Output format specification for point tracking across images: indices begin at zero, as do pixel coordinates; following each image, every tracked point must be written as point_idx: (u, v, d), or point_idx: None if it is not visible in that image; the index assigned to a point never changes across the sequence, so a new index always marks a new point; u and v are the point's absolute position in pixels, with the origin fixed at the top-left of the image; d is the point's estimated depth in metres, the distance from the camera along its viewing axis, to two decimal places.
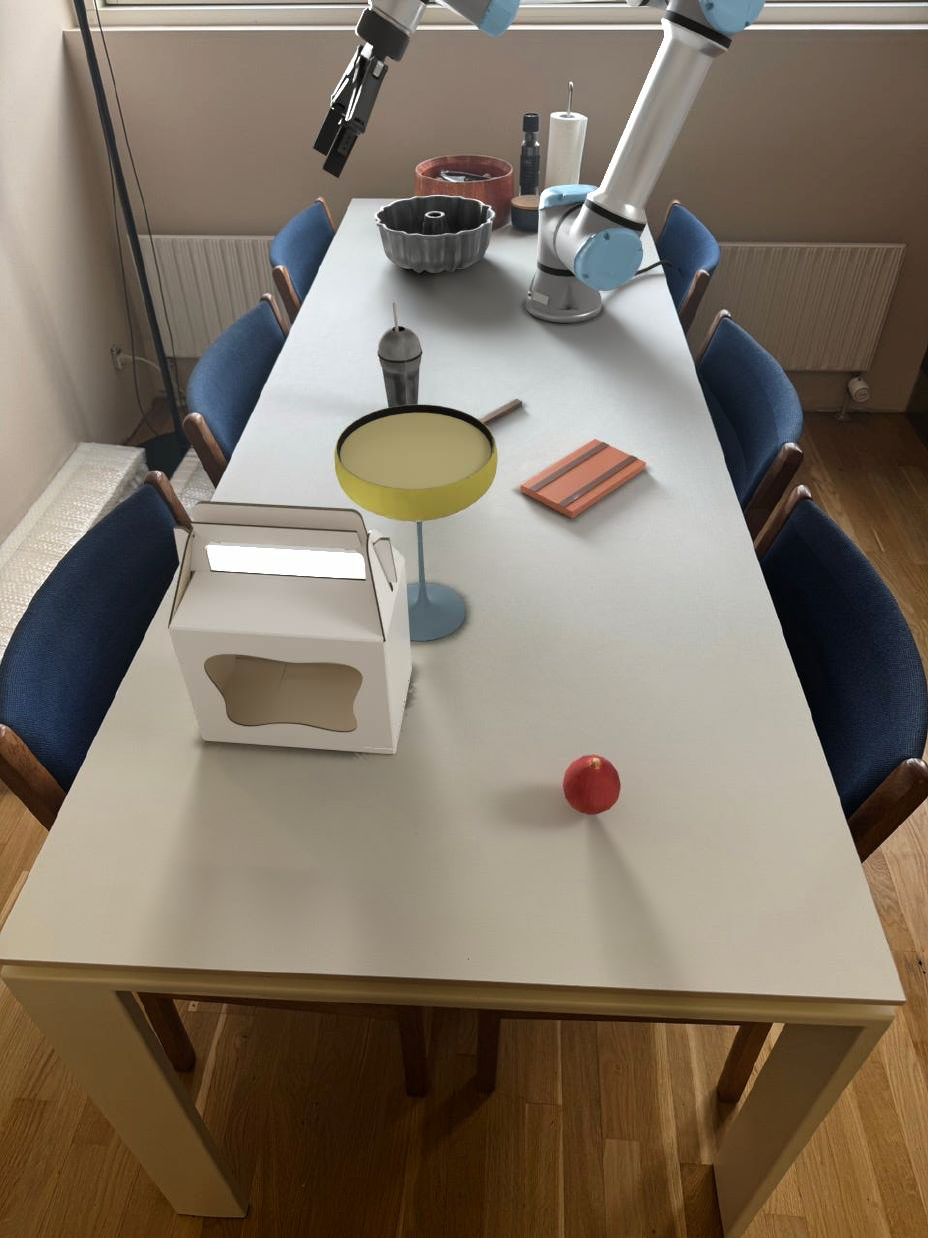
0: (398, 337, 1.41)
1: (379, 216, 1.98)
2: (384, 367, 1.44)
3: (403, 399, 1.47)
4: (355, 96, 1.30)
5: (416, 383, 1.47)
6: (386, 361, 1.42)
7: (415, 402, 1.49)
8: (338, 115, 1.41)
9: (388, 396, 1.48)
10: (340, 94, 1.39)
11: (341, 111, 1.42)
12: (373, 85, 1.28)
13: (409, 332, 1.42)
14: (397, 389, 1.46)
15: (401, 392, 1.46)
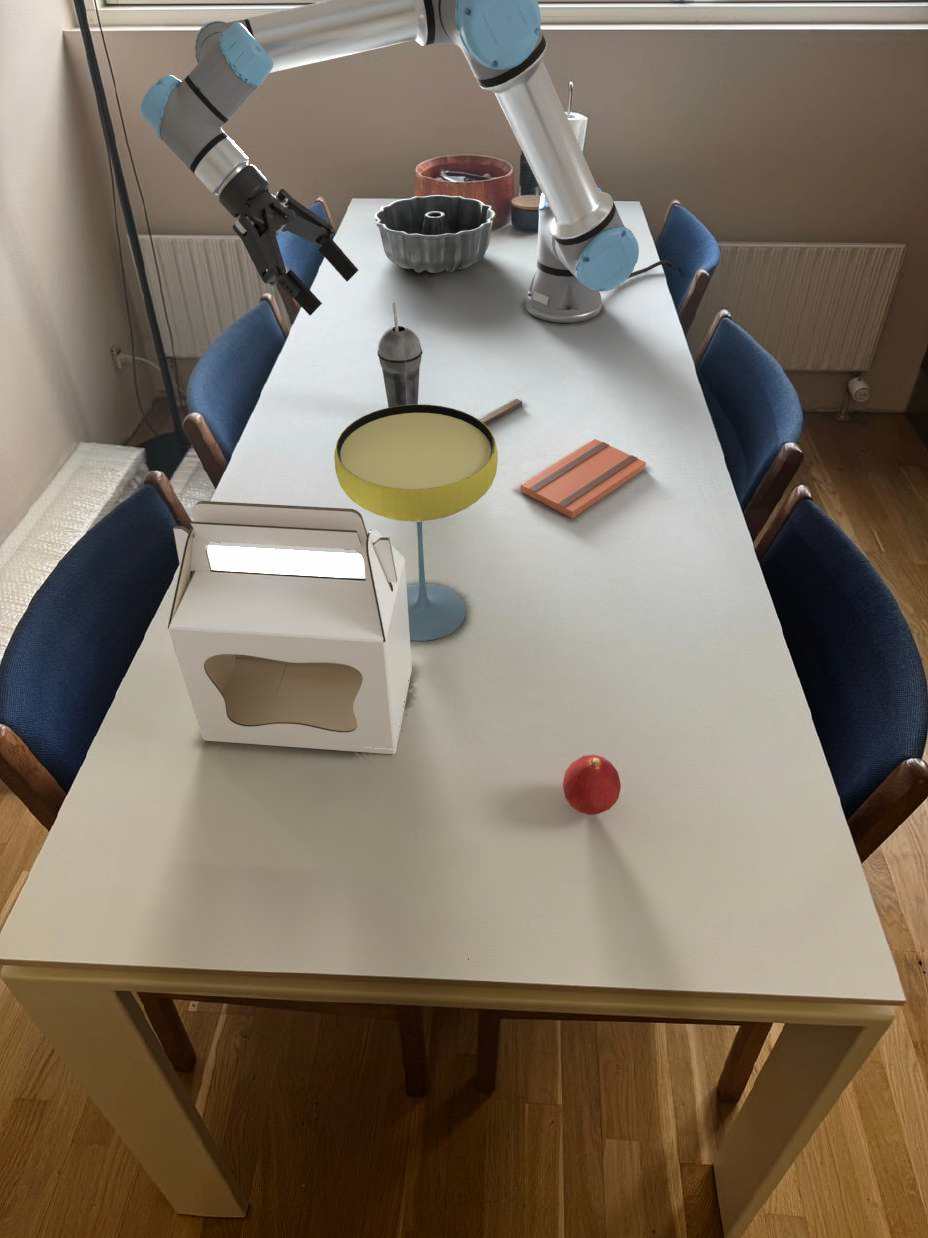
0: (398, 337, 1.41)
1: (379, 216, 1.98)
2: (384, 367, 1.44)
3: (403, 399, 1.47)
4: None
5: (416, 383, 1.47)
6: (386, 361, 1.42)
7: (415, 402, 1.49)
8: (325, 245, 1.44)
9: (388, 396, 1.48)
10: (305, 238, 1.43)
11: (325, 239, 1.44)
12: (249, 239, 1.32)
13: (409, 332, 1.42)
14: (397, 389, 1.46)
15: (401, 392, 1.46)
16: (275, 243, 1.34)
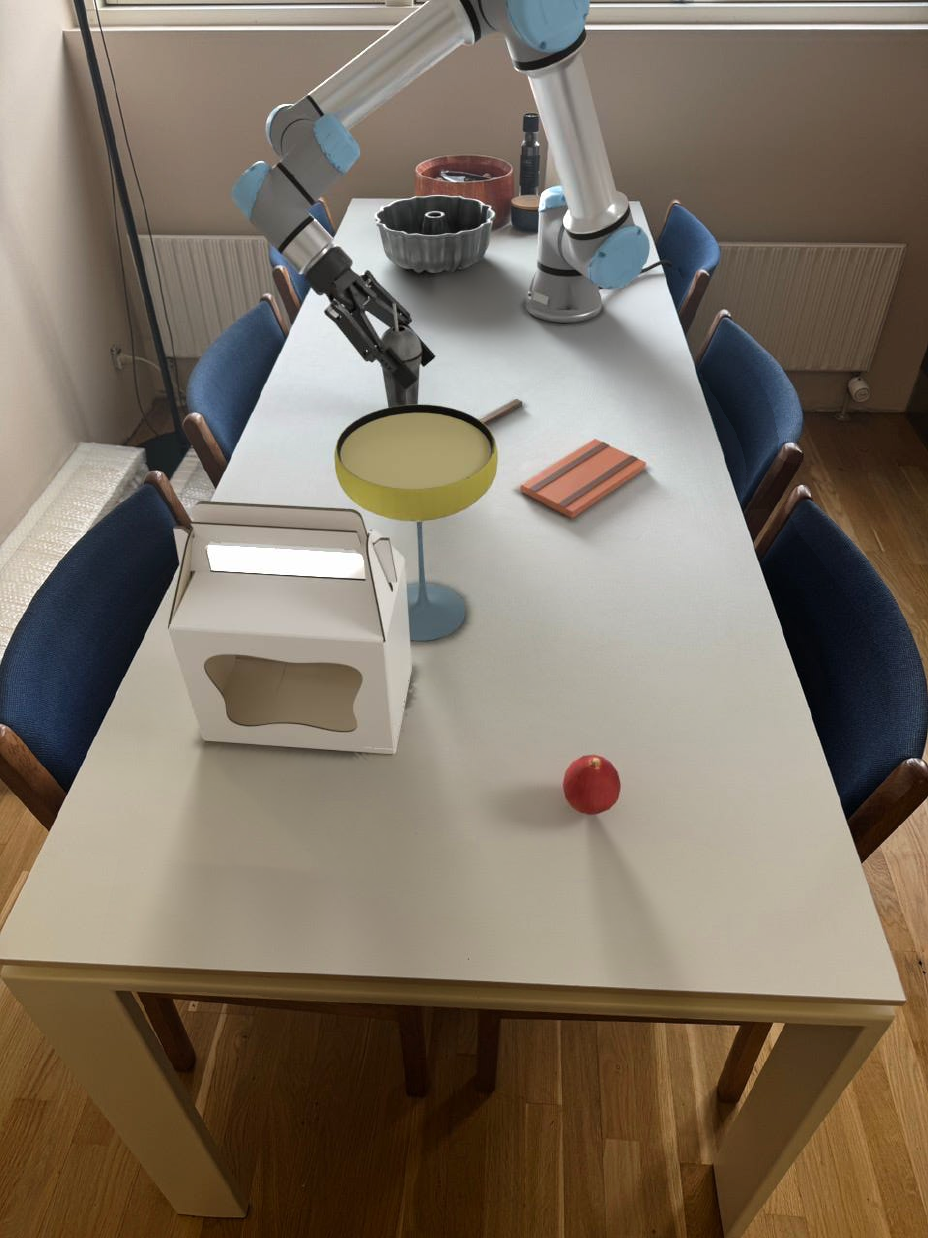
0: (398, 337, 1.41)
1: (379, 216, 1.98)
2: None
3: (403, 399, 1.47)
4: None
5: (416, 383, 1.47)
6: None
7: (415, 402, 1.49)
8: None
9: (388, 396, 1.48)
10: (383, 321, 1.45)
11: None
12: (344, 323, 1.37)
13: (409, 332, 1.42)
14: (397, 389, 1.46)
15: (401, 392, 1.46)
16: (368, 321, 1.39)
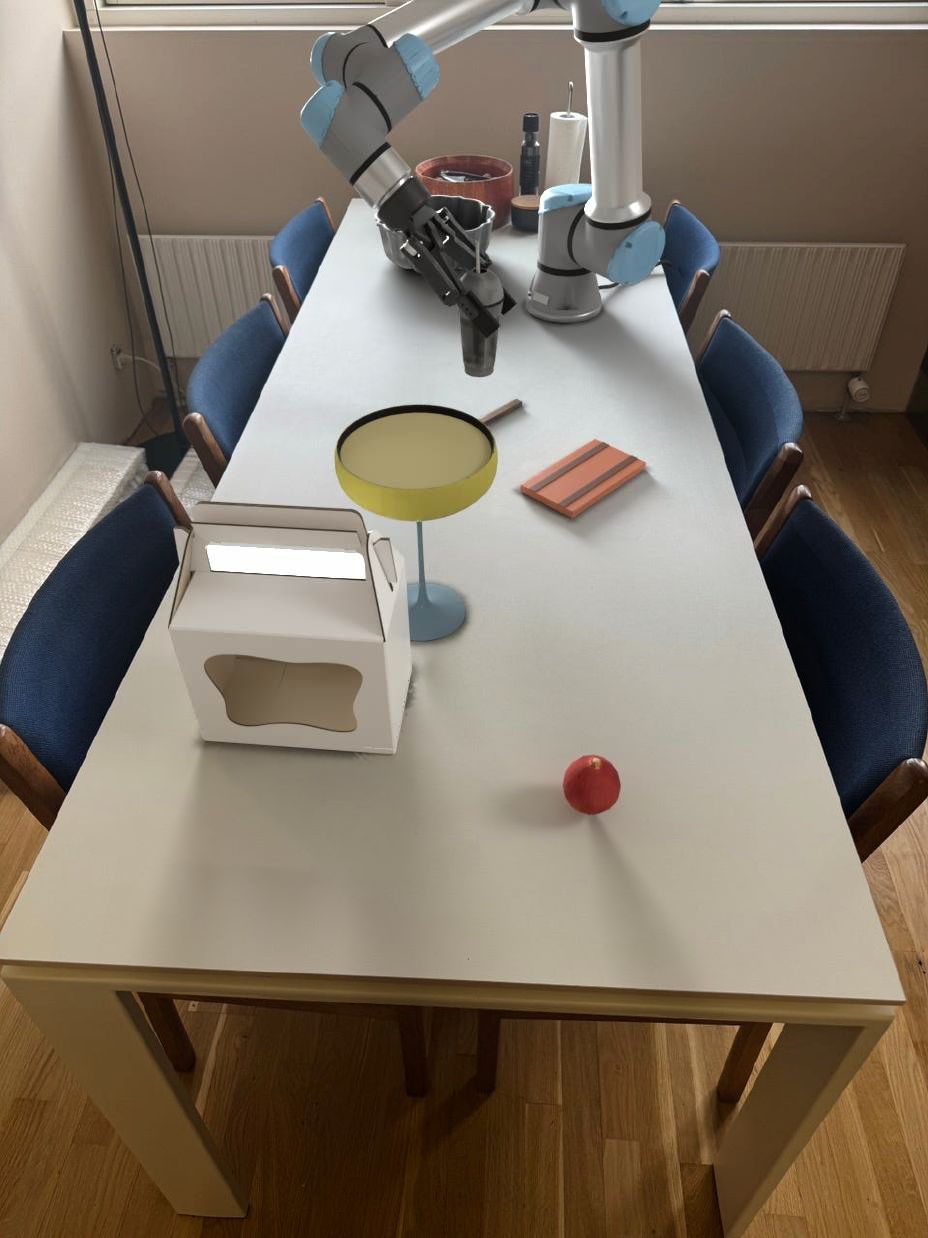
0: (480, 279, 1.27)
1: None
2: (462, 314, 1.30)
3: (481, 350, 1.34)
4: None
5: (496, 332, 1.33)
6: None
7: (493, 354, 1.36)
8: None
9: (464, 347, 1.35)
10: (461, 264, 1.32)
11: None
12: (423, 261, 1.23)
13: (491, 274, 1.28)
14: (475, 339, 1.32)
15: (480, 342, 1.33)
16: (447, 261, 1.26)
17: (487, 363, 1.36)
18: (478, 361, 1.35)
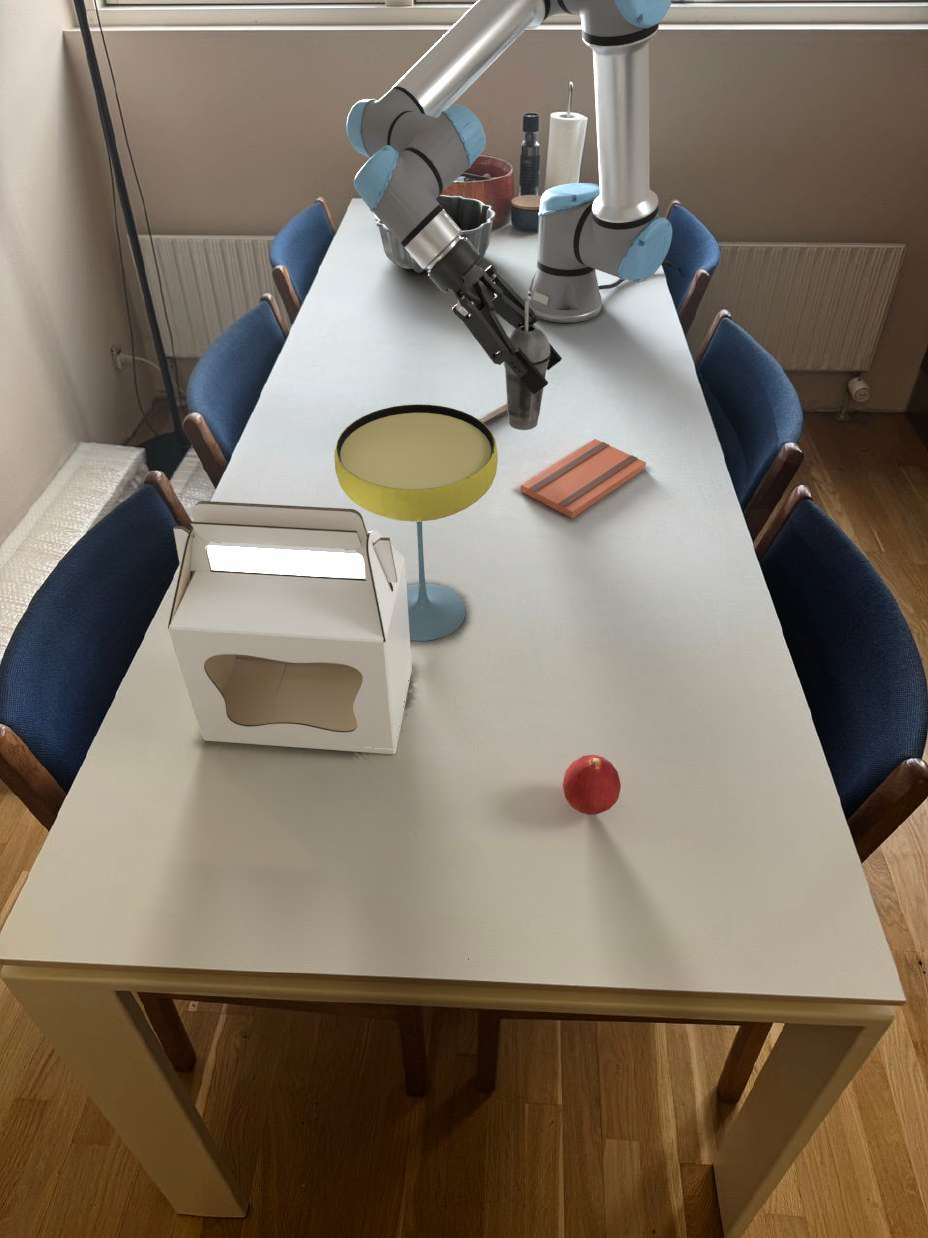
0: (528, 337, 1.29)
1: None
2: (510, 370, 1.32)
3: (527, 405, 1.36)
4: None
5: None
6: None
7: (538, 408, 1.38)
8: None
9: (510, 401, 1.37)
10: (507, 320, 1.34)
11: None
12: (474, 322, 1.25)
13: (539, 332, 1.30)
14: (522, 394, 1.34)
15: (526, 397, 1.35)
16: (497, 320, 1.28)
17: (532, 417, 1.38)
18: (523, 415, 1.37)
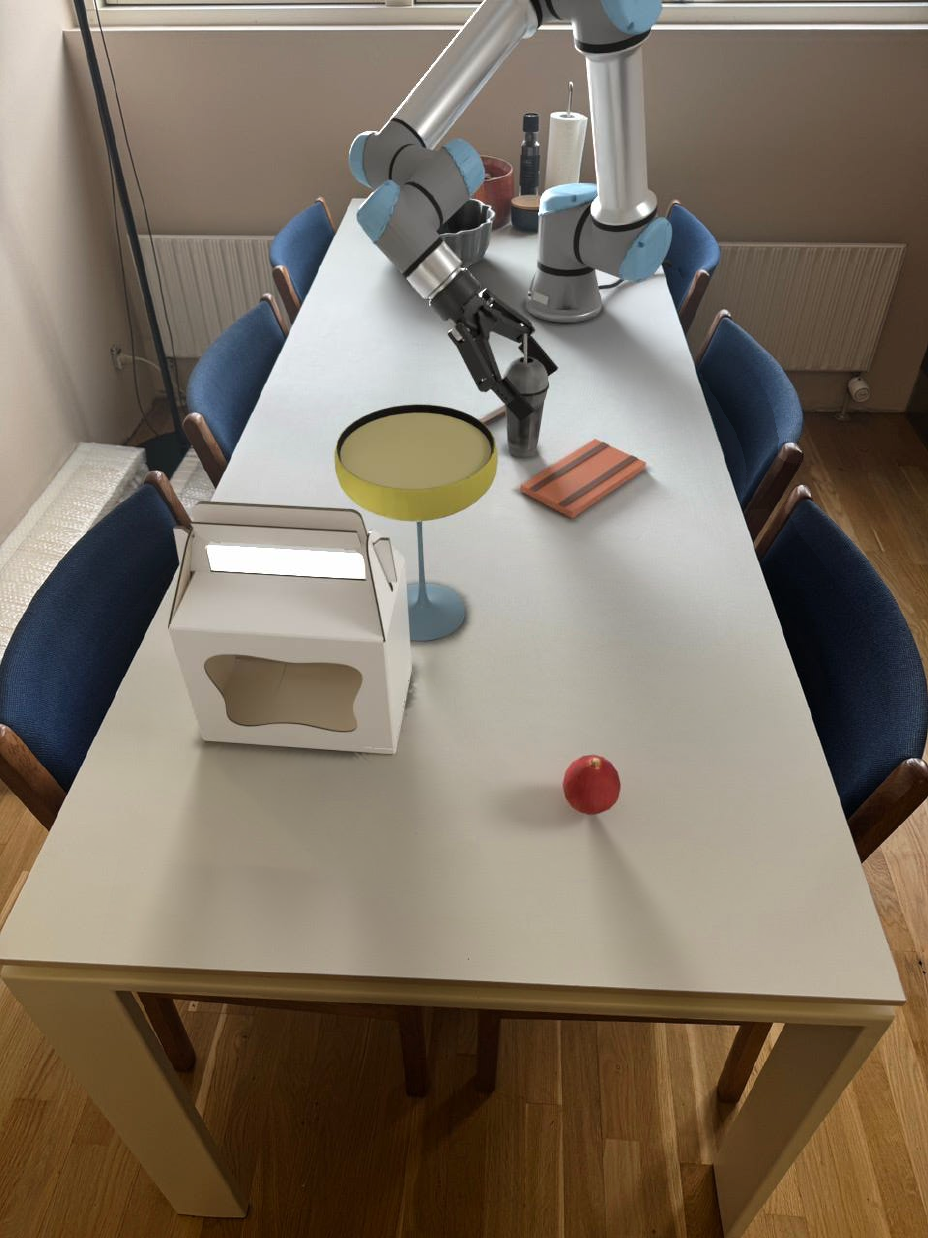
0: (527, 369, 1.33)
1: None
2: None
3: (526, 433, 1.39)
4: None
5: (540, 416, 1.39)
6: None
7: (537, 436, 1.41)
8: None
9: (509, 430, 1.40)
10: (507, 336, 1.38)
11: None
12: (466, 347, 1.27)
13: (537, 363, 1.34)
14: (521, 423, 1.38)
15: (525, 426, 1.38)
16: (489, 349, 1.29)
17: (531, 444, 1.41)
18: (522, 442, 1.40)
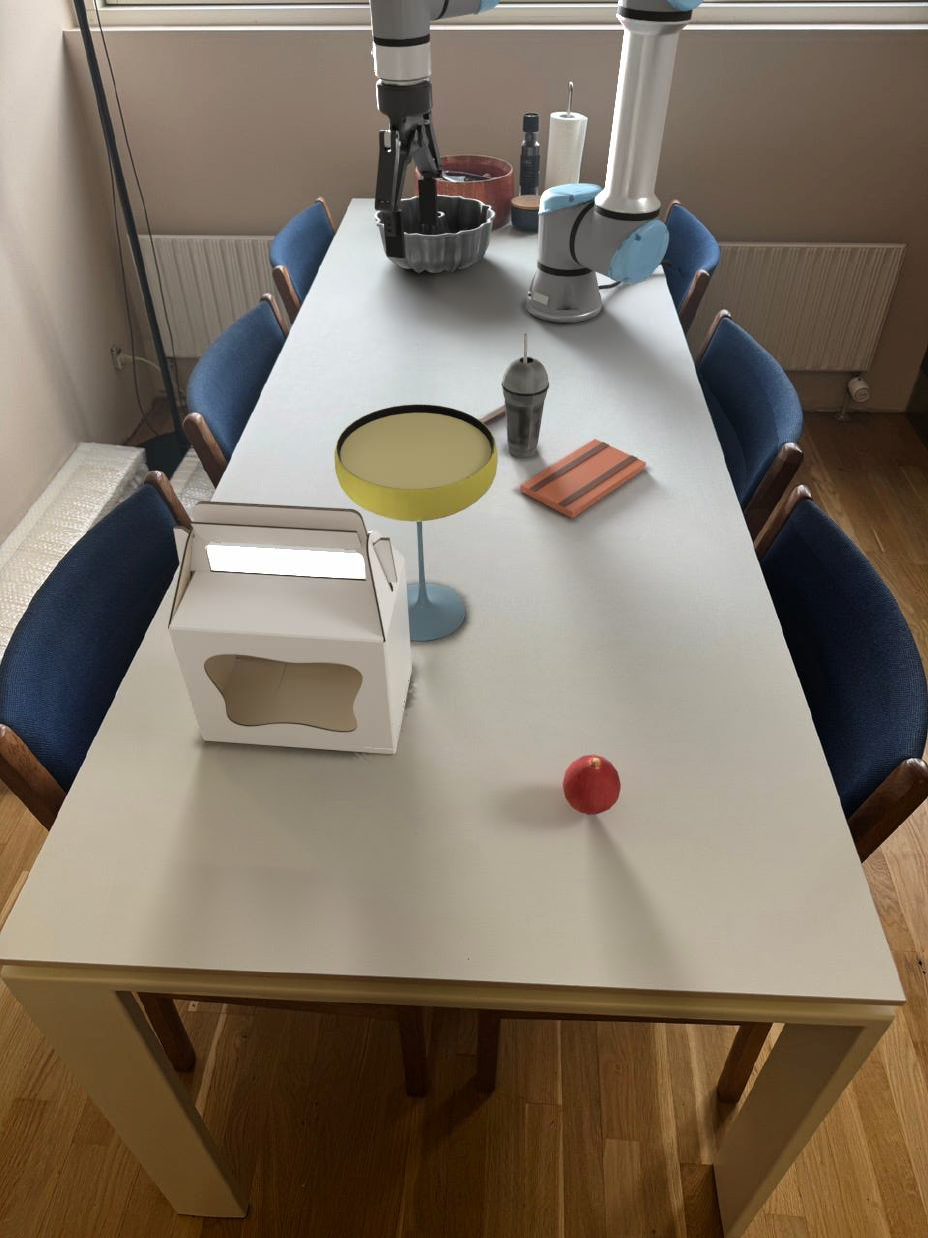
0: (527, 369, 1.33)
1: (379, 216, 1.98)
2: (509, 400, 1.36)
3: (526, 433, 1.39)
4: None
5: (540, 416, 1.39)
6: (513, 394, 1.34)
7: (537, 436, 1.41)
8: (427, 182, 1.35)
9: (509, 430, 1.40)
10: (416, 164, 1.33)
11: (431, 176, 1.35)
12: (388, 158, 1.21)
13: (537, 363, 1.34)
14: (521, 423, 1.38)
15: (525, 426, 1.38)
16: (404, 174, 1.24)
17: (531, 444, 1.41)
18: (522, 442, 1.40)
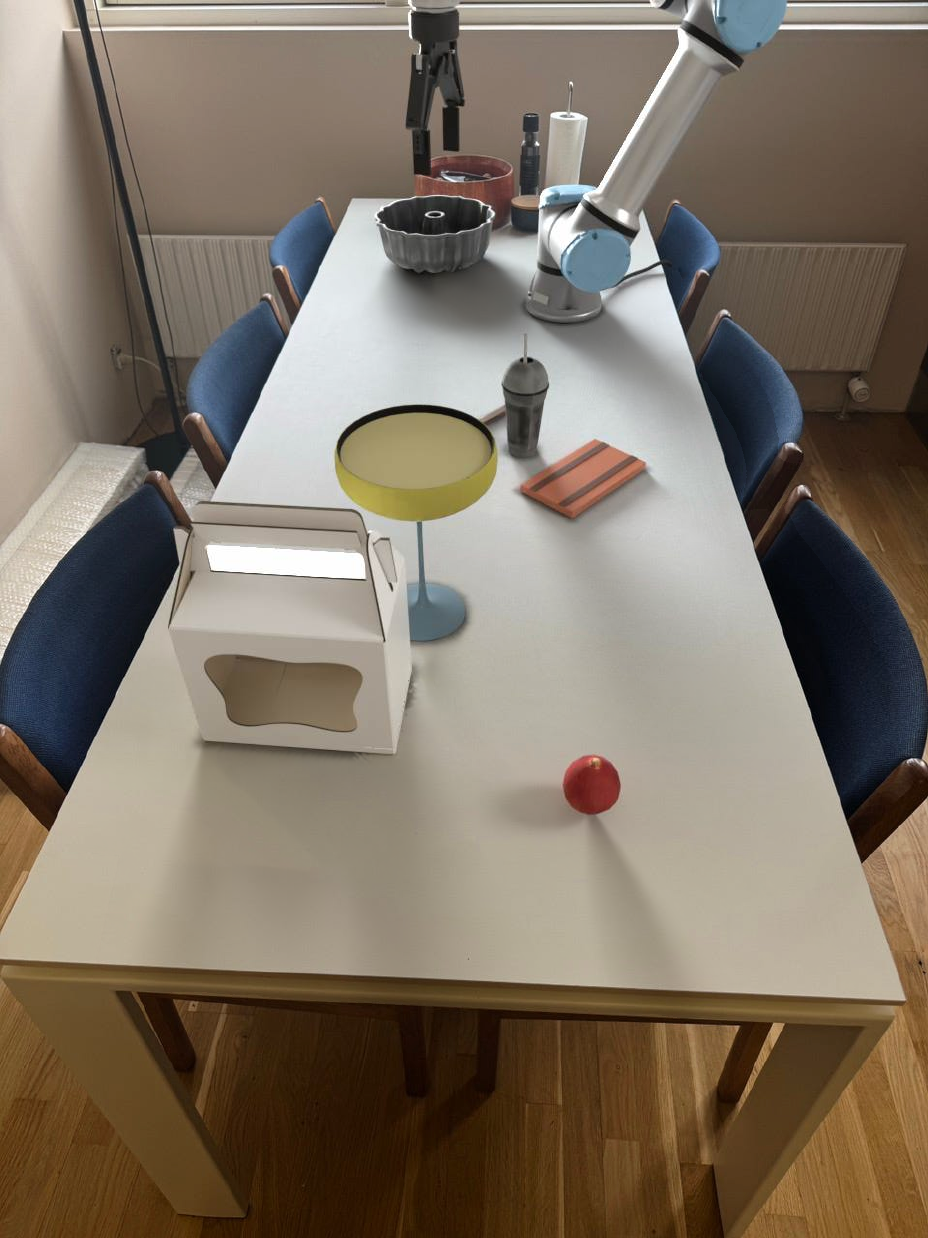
0: (527, 369, 1.33)
1: (379, 216, 1.98)
2: (509, 400, 1.36)
3: (526, 433, 1.39)
4: None
5: (540, 416, 1.39)
6: (513, 394, 1.34)
7: (537, 436, 1.41)
8: (451, 110, 1.48)
9: (509, 430, 1.40)
10: (441, 92, 1.46)
11: (454, 105, 1.48)
12: (419, 80, 1.34)
13: (537, 363, 1.34)
14: (521, 423, 1.38)
15: (525, 426, 1.38)
16: (432, 96, 1.37)
17: (531, 444, 1.41)
18: (522, 442, 1.40)
